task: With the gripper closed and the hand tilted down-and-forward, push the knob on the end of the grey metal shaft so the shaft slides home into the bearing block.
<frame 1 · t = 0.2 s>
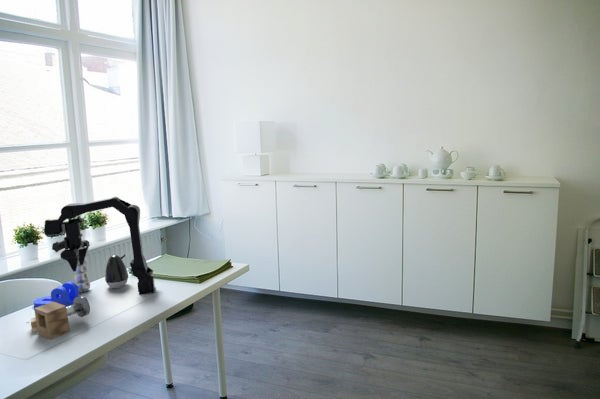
hand: (78, 267, 196), 14 cm above the table, tool pointing down, fingers open, 9 cm apart
shaft: (69, 310, 171), point 6 cm above the table, slide at 5.0 cm
plastic bottle: (83, 291, 209), on the table
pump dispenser: (118, 286, 213), on the table
bearing block: (54, 332, 167), on the table
spacer block: (38, 328, 171), on the table
bracket: (55, 304, 195), on the table
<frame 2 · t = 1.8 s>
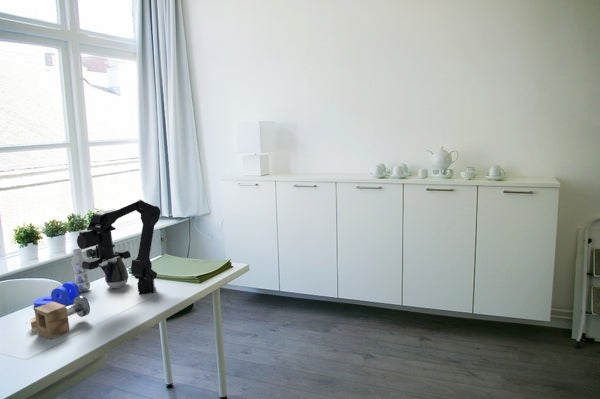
hand: (109, 279, 187), 12 cm above the table, tool pointing down, fingers closed
nothing on the table moved.
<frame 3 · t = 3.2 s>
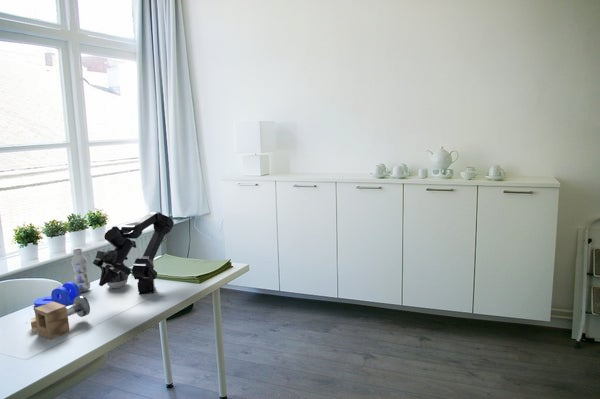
hand: (100, 285, 181), 11 cm above the table, tool tilted 45°, fingers closed
nothing on the table moved.
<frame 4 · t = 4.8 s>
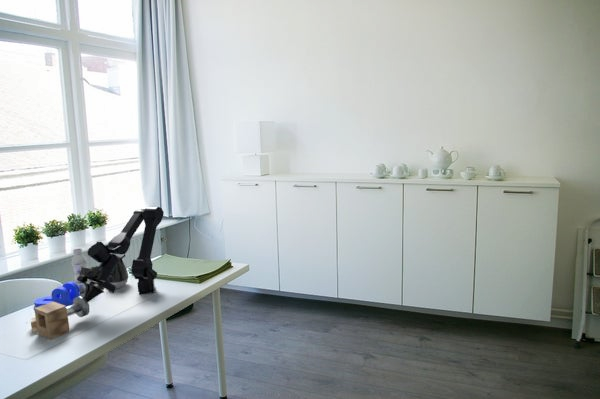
hand: (83, 303, 176), 7 cm above the table, tool tilted 45°, fingers closed, pressing on shaft
shaft: (68, 311, 171), point 6 cm above the table, slide at 4.8 cm, touching gripper
everything else where it was.
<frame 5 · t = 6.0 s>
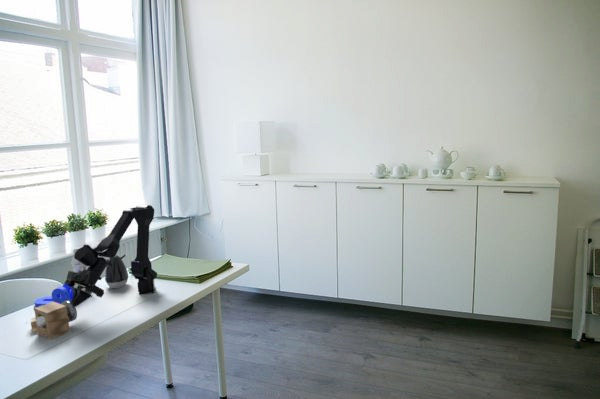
hand: (71, 307, 171), 7 cm above the table, tool tilted 45°, fingers closed, pressing on shaft
shaft: (55, 316, 167), point 6 cm above the table, slide at -0.2 cm, touching gripper
everything else where it was.
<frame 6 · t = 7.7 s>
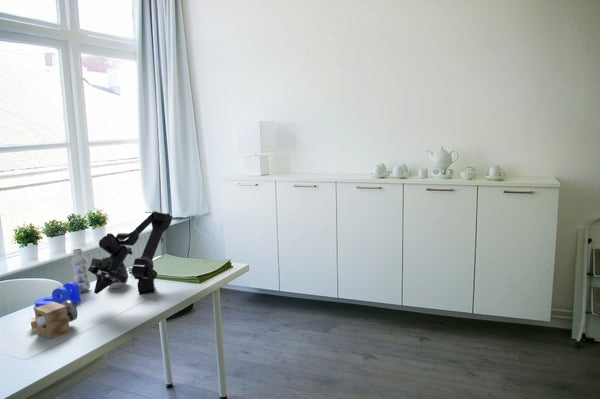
hand: (95, 293, 179), 9 cm above the table, tool tilted 45°, fingers closed
shaft: (55, 315, 167), point 6 cm above the table, slide at 0.0 cm
everything else where it was.
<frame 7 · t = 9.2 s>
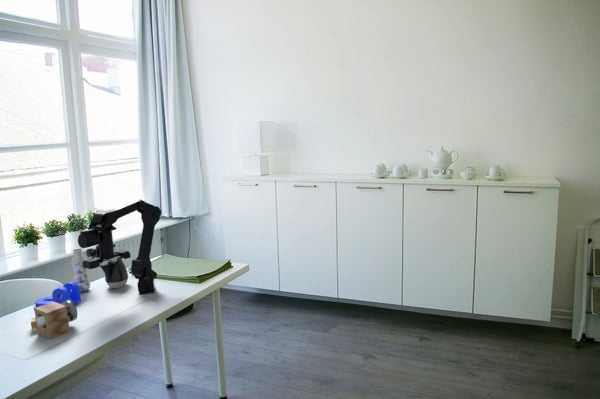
hand: (109, 279, 186), 12 cm above the table, tool pointing down, fingers closed
nothing on the table moved.
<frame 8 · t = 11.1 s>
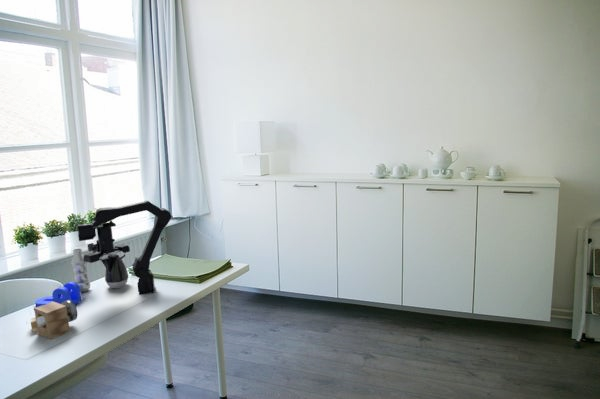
hand: (109, 272, 196), 12 cm above the table, tool pointing down, fingers closed
nothing on the table moved.
at the end: shaft slide at 0.0 cm; the gripper is holding nothing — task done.
